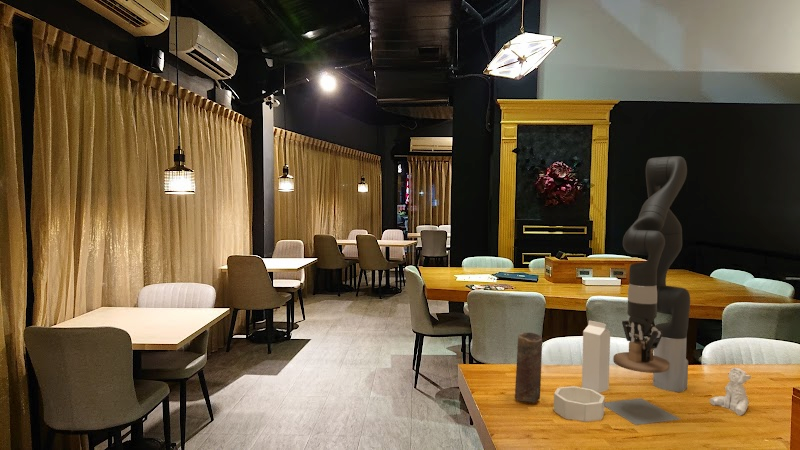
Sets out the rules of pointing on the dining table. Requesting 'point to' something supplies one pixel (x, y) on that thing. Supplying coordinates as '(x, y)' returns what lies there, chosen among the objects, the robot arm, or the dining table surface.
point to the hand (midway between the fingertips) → (640, 359)
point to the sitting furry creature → (734, 393)
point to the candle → (528, 367)
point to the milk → (596, 357)
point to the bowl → (579, 403)
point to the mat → (639, 411)
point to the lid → (635, 363)
